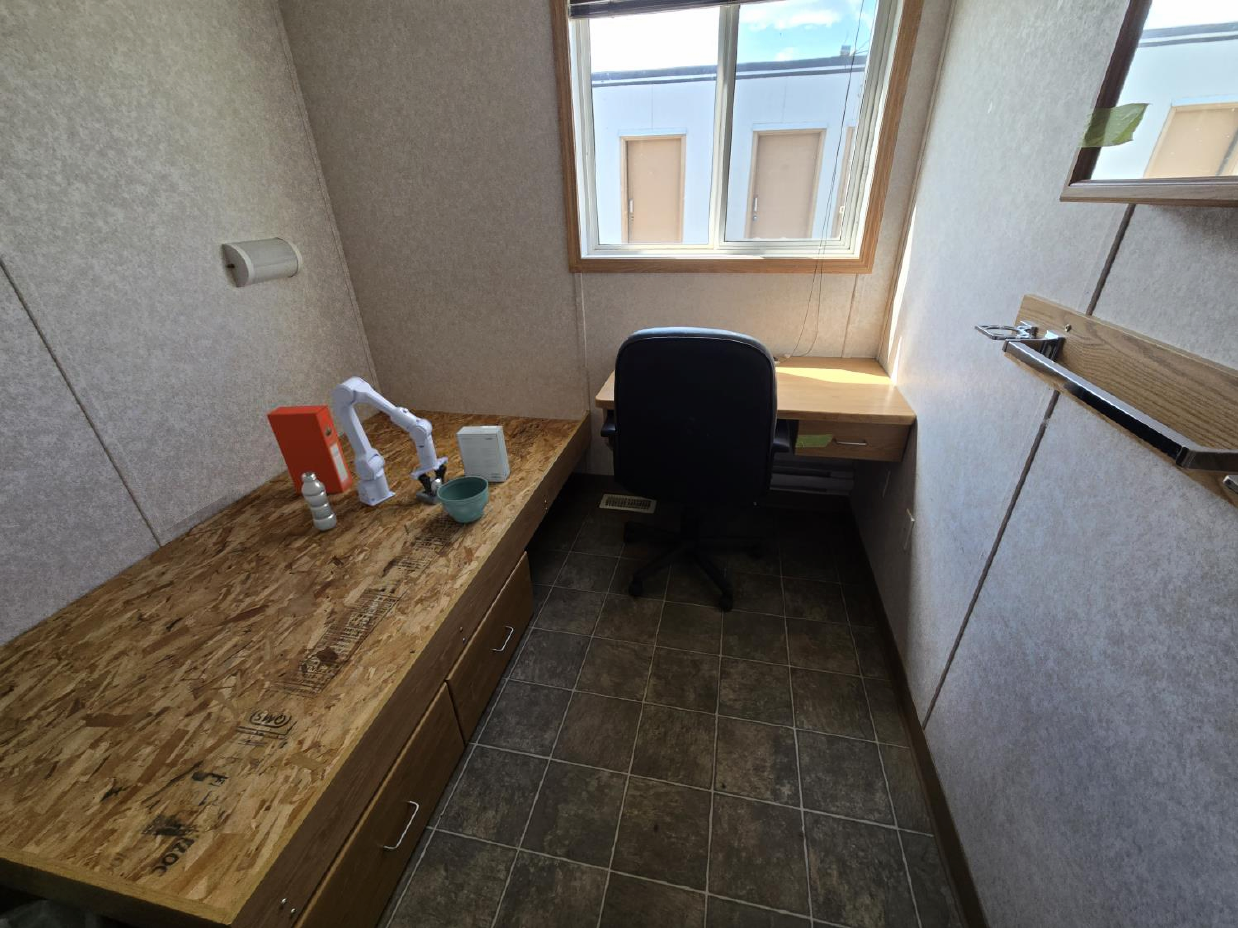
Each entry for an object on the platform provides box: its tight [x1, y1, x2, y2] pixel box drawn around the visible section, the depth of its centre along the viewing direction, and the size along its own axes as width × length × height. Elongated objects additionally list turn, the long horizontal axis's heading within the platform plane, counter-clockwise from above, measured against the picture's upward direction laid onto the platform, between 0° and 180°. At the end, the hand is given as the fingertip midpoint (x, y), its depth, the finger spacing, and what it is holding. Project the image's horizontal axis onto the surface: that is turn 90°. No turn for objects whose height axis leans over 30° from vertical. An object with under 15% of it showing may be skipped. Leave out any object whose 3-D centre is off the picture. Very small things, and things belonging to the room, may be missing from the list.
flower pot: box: [437, 476, 489, 524], centre depth 167 cm, size 16×16×11 cm
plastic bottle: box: [302, 472, 338, 531], centre depth 162 cm, size 6×7×20 cm
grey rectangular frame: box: [414, 487, 441, 506], centre depth 182 cm, size 10×10×2 cm
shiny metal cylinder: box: [429, 475, 443, 497], centre depth 180 cm, size 5×5×6 cm
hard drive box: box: [455, 425, 511, 483], centre depth 188 cm, size 16×8×20 cm, turn 84°
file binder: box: [266, 404, 354, 495], centre depth 183 cm, size 8×17×32 cm, turn 89°
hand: (435, 488), depth 181 cm, fingers closed on shiny metal cylinder, 5 cm apart
